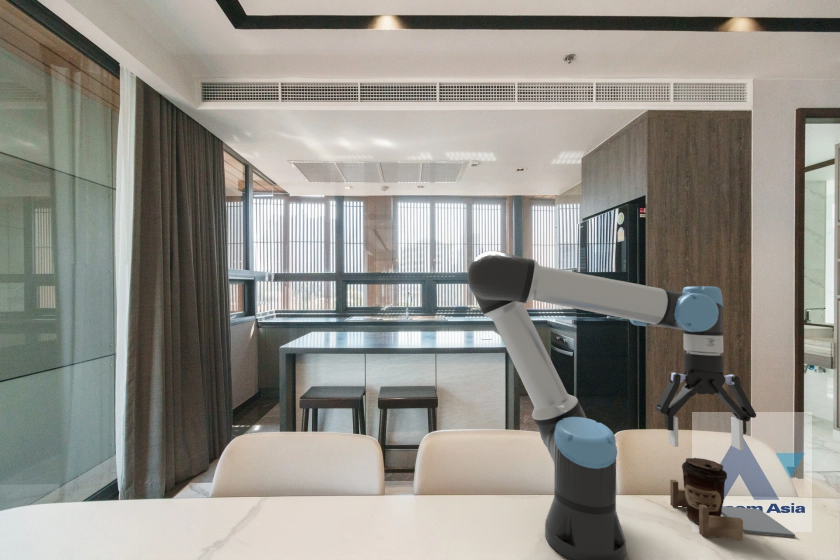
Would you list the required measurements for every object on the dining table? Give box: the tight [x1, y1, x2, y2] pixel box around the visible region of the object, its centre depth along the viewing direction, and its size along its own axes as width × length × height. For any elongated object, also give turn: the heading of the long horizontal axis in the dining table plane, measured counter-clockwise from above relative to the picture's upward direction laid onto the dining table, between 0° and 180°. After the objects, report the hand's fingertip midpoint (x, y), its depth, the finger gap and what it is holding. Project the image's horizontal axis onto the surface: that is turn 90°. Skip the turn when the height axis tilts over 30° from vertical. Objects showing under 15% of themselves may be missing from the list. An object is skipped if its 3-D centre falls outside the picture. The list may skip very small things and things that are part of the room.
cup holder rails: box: [669, 479, 744, 540], centre depth 88 cm, size 8×13×6 cm, turn 173°
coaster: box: [721, 505, 796, 538], centre depth 88 cm, size 10×10×1 cm
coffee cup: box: [681, 457, 728, 524], centre depth 88 cm, size 9×8×13 cm
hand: (705, 446), depth 88 cm, fingers open, 13 cm apart
